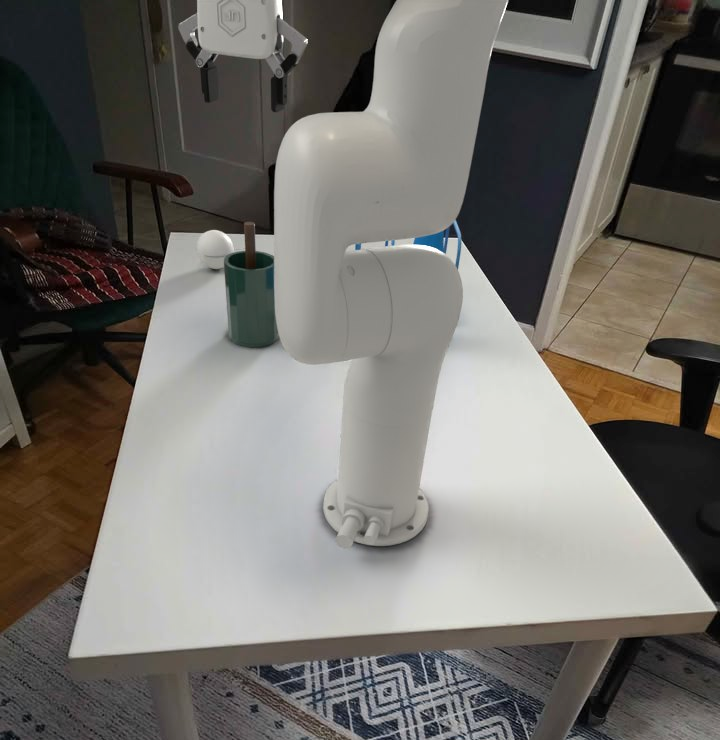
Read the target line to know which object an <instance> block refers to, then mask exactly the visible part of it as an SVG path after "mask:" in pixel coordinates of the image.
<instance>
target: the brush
mask: <svg viewBox="0 0 720 740" xmlns="http://www.w3.org/2000/svg"><path fill="white" fill-rule="evenodd" d="M243 225H244V226H243V230H244V231H243V232H244V234H243V235H244V251H245V257H246V269H256V251H257V248H256V223H255V222H253V221H246V222H244V223H243Z"/></svg>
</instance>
